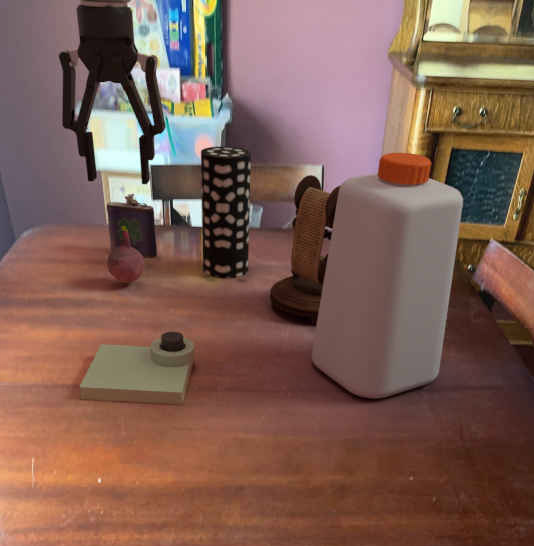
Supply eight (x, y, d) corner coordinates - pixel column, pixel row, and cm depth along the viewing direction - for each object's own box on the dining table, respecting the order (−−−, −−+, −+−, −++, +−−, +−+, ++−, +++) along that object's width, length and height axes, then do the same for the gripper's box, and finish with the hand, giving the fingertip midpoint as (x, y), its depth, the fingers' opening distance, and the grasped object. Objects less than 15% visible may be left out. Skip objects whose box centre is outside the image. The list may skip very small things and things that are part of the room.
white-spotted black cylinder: (194, 267, 125) (190, 149, 113) (229, 258, 129) (230, 144, 117) (221, 281, 120) (220, 160, 108) (257, 271, 124) (261, 154, 112)
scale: (80, 399, 86) (77, 375, 84) (103, 354, 96) (100, 332, 94) (185, 405, 86) (185, 381, 84) (197, 359, 96) (196, 337, 94)
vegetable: (153, 284, 117) (150, 226, 111) (128, 295, 113) (123, 235, 107) (127, 276, 120) (122, 218, 114) (102, 286, 116) (96, 227, 110)
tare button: (159, 352, 91) (159, 340, 90) (163, 342, 93) (162, 330, 92) (182, 353, 91) (181, 341, 90) (185, 343, 93) (184, 331, 92)
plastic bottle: (449, 382, 94) (500, 166, 77) (364, 408, 87) (398, 179, 70) (380, 338, 104) (411, 139, 87) (299, 359, 97) (316, 148, 81)
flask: (108, 252, 129) (103, 193, 122) (115, 247, 131) (110, 189, 125) (154, 258, 127) (151, 199, 121) (160, 253, 130) (157, 195, 123)
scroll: (251, 303, 113) (255, 176, 101) (314, 283, 121) (324, 163, 109) (313, 334, 104) (325, 200, 92) (376, 311, 112) (395, 184, 100)
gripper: (20, 1, 89) (46, 183, 103) (175, 9, 89) (181, 190, 103) (37, -2, 95) (60, 171, 109) (182, 6, 95) (187, 178, 109)
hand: (119, 180), depth 106 cm, fingers open, 8 cm apart
